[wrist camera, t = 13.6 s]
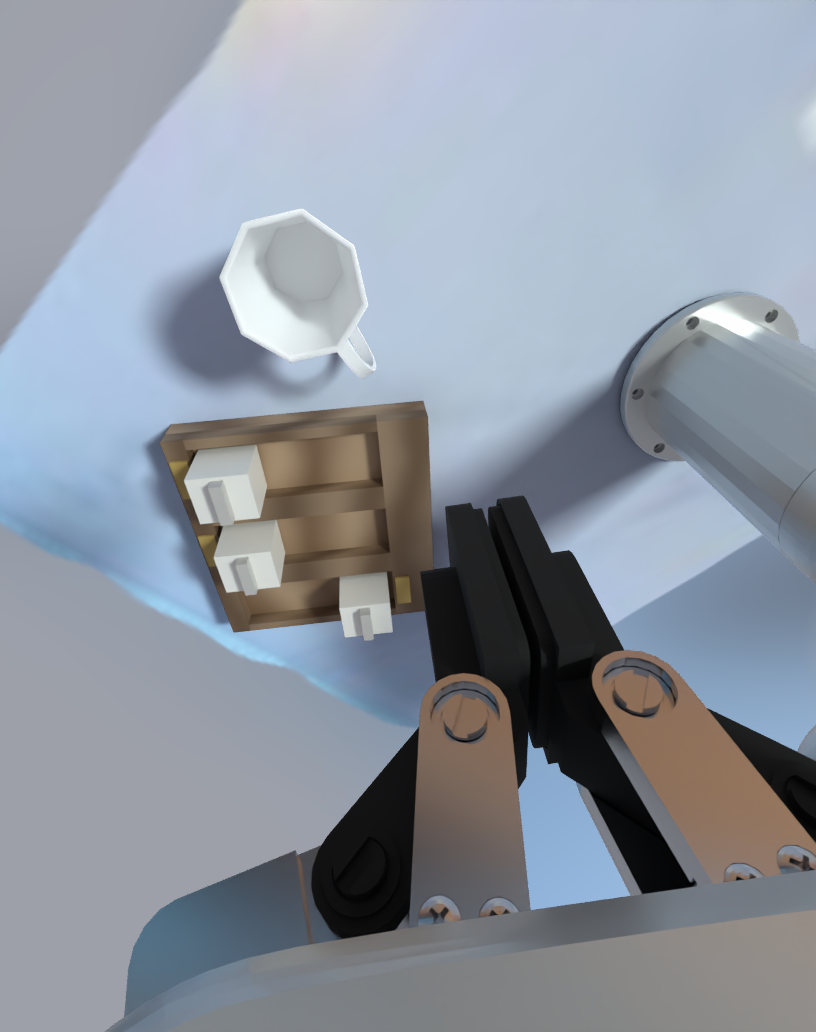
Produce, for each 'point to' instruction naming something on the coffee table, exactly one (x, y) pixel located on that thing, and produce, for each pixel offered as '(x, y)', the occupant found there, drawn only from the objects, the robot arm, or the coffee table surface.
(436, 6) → the coffee table surface
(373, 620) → the tab
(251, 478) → the tab
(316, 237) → the cup
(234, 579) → the tab middle
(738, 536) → the coffee table surface
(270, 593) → the switch board
